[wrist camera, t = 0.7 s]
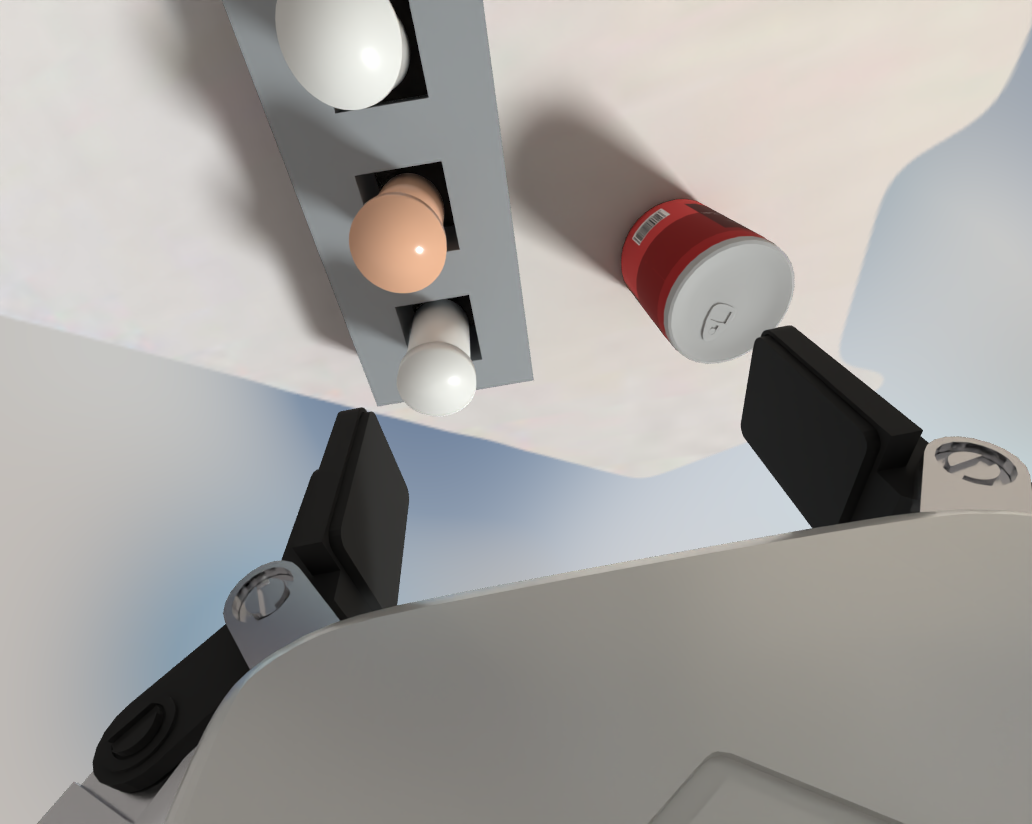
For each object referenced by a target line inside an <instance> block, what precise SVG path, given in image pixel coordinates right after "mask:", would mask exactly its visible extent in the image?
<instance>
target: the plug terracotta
mask: <svg viewBox="0 0 1032 824" xmlns="http://www.w3.org/2000/svg"><path fill="white" fill-rule="evenodd" d="M443 221H444V203H443V199H442V197H441V194H440V193H439V191H438V189H437V188H436V187H435V186H434V184H433V183H432V182H430V181H429V180H428V179H426V178H425V177H423V176H420V175H417V174H413V173H403V174H399V175H396V176H394V177H393V178H391V179H390V180H389V181H387V183H386V184H385V185H384V187H383V188H382V190H381V191H380V193H379V194H378V196H375V197H373V198H372V199H370V200H369V201H368V202H366V203H365V204H364V205H363V206H362V208H361V209H360V210H359V212H358V213H357V215H356V216H355V218H354V220H353V222H352V224H351V228H350V232H349V247H350V252H351V255H352V258H353V260H354V262H355V264H356V266H357V268H358V269H359V270H360V272H361V273H362V274H363V275H364V276H365V277H366V278H367V279H368V280H369V281H370V282H372V283H373V284H374V285H376V286H378V287H380V288H382V289H384V290H387V291H390V292H395V293H412V292H416V291H419V290H422V289H424V288H425V287H427V286H429V285H430V284H431V283H432V282H433V281H434V280H435V279H436V278H437V277H438V276H439V274H440V273H441V271H442V269H443V266H444V263H445V259H446V251H447V239H446V233H445V230H444V227H443Z"/></svg>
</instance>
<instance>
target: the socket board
mask: <svg viewBox="0 0 1032 824" xmlns="http://www.w3.org/2000/svg"><path fill="white" fill-rule="evenodd" d="M222 2H223V4H224V7H225V10H226V12H227V15H228V18H229V20H230V23H231V25H232V28H233V31H234V33H235V36H236V38H237V41H238V44H239V46H240V49H241V51H242V54H243V57H244V59H245V62H246V64H247V67H248V70H249V72H250V75H251V77H252V80H253V83H254V85H255V88H256V91H257V93H258V96H259V98H260V101H261V104H262V106H263V109H264V111H265V114H266V117H267V119H268V122H269V124H270V127H271V130H272V132H273V135H274V137H275V140H276V143H277V145H278V148H279V150H280V153H281V156H282V158H283V161H284V164H285V166H286V169H287V171H288V174H289V177H290V179H291V182H292V184H293V187H294V190H295V192H296V195H297V197H298V200H299V203H300V205H301V208H302V210H303V213H304V216H305V218H306V221H307V223H308V226H309V229H310V231H311V234H312V237H313V239H314V242H315V244H316V247H317V250H318V252H319V255H320V257H321V260H322V263H323V265H324V268H325V270H326V273H327V276H328V278H329V281H330V283H331V286H332V289H333V291H334V294H335V297H336V299H337V302H338V304H339V307H340V310H341V312H342V315H343V317H344V320H345V323H346V325H347V328H348V330H349V333H350V336H351V338H352V341H353V343H354V346H355V349H356V351H357V354H358V356H359V359H360V362H361V364H362V367H363V370H364V372H365V375H366V377H367V380H368V383H369V385H370V388H371V390H372V393H373V396H374V398H375V401H376V403H377V406H383V405H389V404H395V403H401V402H404V401H403V400H402V398H401V396H400V394H399V392H398V389H397V375H398V370H399V365H400V363H401V360H402V359H403V357H404V356H405V354H406V353H407V350H408V345H409V340H410V334H411V329H412V323H413V318H414V315H415V314H414V311H413V307H412V304H417V303H423V302H429V301H435V300H441V299H447V298H453V297H459V296H464V295H469V297H470V302H471V307H472V311H473V316H474V321H475V325H469V336H470V359H471V360H472V362H473V364H474V367H475V371H476V390H479V389H485V388H490V387H496V386H502V385H508V384H514V383H520V382H526V381H532V380H534V379H533V372H532V364H531V357H530V349H529V342H528V334H527V327H526V319H525V312H524V304H523V297H522V289H521V282H520V274H519V267H518V260H517V252H516V245H515V237H514V230H513V222H512V215H511V207H510V200H509V192H508V185H507V177H506V170H505V163H504V155H503V148H502V140H501V133H500V125H499V118H498V110H497V103H496V95H495V88H494V80H493V73H492V66H491V58H490V51H489V43H488V36H487V28H486V21H485V13H484V6H483V0H409V4H410V9H411V14H412V18H413V23H414V28H415V33H416V38H417V43H418V48H419V53H420V58H421V62H422V67H423V72H424V77H425V82H426V87H427V92H428V94H427V95H421V96H415V97H409V98H403V99H397V100H391V101H385V102H379V103H377V104H375V105H372V106H370V107H367V108H364V109H360V110H343V109H338V108H335V107H332V106H329V105H327V104H325V103H323V102H322V101H320V100H319V99H317V98H316V97H314V96H313V95H312V94H310V93H309V92H308V91H307V90H306V89H305V88H304V87H303V86H302V85H301V84H300V82H299V81H298V80H297V79H296V77H295V76H294V75H293V73H292V71H291V70H290V68H289V67H288V65H287V63H286V61H285V59H284V56H283V54H282V51H281V48H280V45H279V42H278V37H277V32H276V23H275V12H276V3H277V0H222ZM439 161H442V165H443V170H444V175H445V180H446V185H447V189H448V194H449V199H450V204H451V209H452V214H453V219H454V224H455V225H453V226H447V227H444V230H445V233H446V239H447V251H446V259H445V263H444V266H443V269H442V271H441V273H440V274H439V276H438V277H437V278H436V279H435V280H434V281H433V282H432V283H431V284H430V285H429V286H427V287H425V288H424V289H422V290H419V291H416V292H412V293H395V292H390V291H387V290H384V289H382V288H380V287H378V286H376V285H374V284H373V283H372V282H370V281H369V280H368V279H367V278H366V277H365V276H364V275H363V274H362V273H361V272H360V270H359V269H358V268H357V266H356V264H355V262H354V260H353V258H352V255H351V252H350V247H349V232H350V228H351V224H352V222H353V220H354V218H355V216H356V215H357V213H358V212H359V210H360V209H361V208H362V206H363V205H364V204H365V203H366V202H368V201H369V200H370V199H372V198H373V197H375V196H378V194H379V193H380V191H379V188H378V184H377V181H376V177H375V174H374V172H380V171H386V170H392V169H398V168H404V167H410V166H416V165H422V164H427V163H433V162H439Z"/></svg>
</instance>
